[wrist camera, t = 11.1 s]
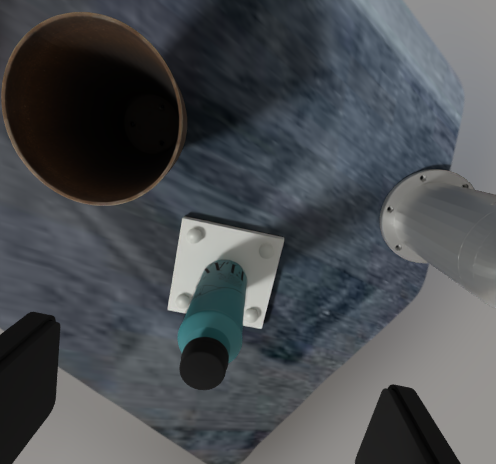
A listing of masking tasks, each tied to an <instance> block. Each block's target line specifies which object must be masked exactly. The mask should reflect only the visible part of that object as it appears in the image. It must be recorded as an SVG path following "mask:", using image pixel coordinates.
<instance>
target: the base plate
mask: <svg viewBox="0 0 496 464" xmlns="http://www.w3.org/2000/svg"><path fill="white" fill-rule="evenodd" d="M283 243H284V237H280V236H275V235H271V234H266V233H261V232H257V231H252V230H247V229H242V228H238V227H233V226H228V225H224V224H219V223H214V222H210V221H205V220H200V219H196V218H191V217H186V216H184V217H183V218H182V224H181V230H180V237H179V243H178V249H177V255H176V261H175V267H174V273H173V280H172V286H171V292H170V298H169V304H168V310H171V311H176V312H181V313H186V309H187V310H188V307H189V305H190V304H189V302H190V301H191V299H192V298H191V297H193V293H195V289H196V288H195V287H196V285H197V283H199V281H200V279H199V278H201V277H200V276H202V273H203V271H204V270H205V268H206V267H207V266H208V265H209V263H210V264H211V263H212V262H214V261H217V260H221V259H227V260H231V261H234V262H236V263H238V264H239V265H240V266H241V267H242V269H243V270H245V271H244V272H245V274H246V277H248V278H247V280H248V282H247V284H248V286H247V287H248V288H246V294H247V295H246V297H247V298H246V299H245V307H244V316H243V325H244V326H249V327H254V328H259V329H262V326H263V322H264V318H265V314H266V310H267V306H268V302H269V298H270V294H271V290H272V286H273V282H274V279H275V275H276V271H277V267H278V263H279V259H280V255H281V251H282V247H283ZM198 280H199V281H198ZM190 303H191V302H190ZM188 304H189V305H188Z"/></svg>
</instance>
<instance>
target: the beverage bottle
mask: <svg viewBox="0 0 496 464" xmlns="http://www.w3.org/2000/svg"><path fill="white" fill-rule="evenodd" d="M244 271H245V270H243V269H242V267H241V266H240V265H239V264H238V263H236V262H234V261H231V260H227V259H221V260H217V261H214V262H212V263H211V264H210V263H209V265H208V266H207V267H206V268H205V270H204V271H203V273H202V276H200V277H201V278H199V279H200V281H199V280H198V281H199V283H197V285H196V287H195V288H196V289H195V293H193V297H191V298H192V299H191V301H190V302H191V303H190V302H189V304H190V305H189V304H188V305H189V307H188V310H187V309H186V314H185V313H184V314H185V317H183V319H184V321H183V323H182V324H181V326H180V329H179V331H178V344H179V348H180V350H181V352H182V356H181V362H180V375H181V377H182V379H183V380H184V382H185V383H186V384H187V385H189V386H190V387H192V388H195V389H198V390H209V389H212V388H215V387H216V386H218V385H219V384H220V383H221V382H222V380H223V379H224V377H225V373H226V370H227V367H228V363H230V362H231V361H233V360H234V359H235V358H236V356H237V355H238V354H239V352H240V350H241V346H242V329H243V316H244V307H245V299H246V298H247V297H246V295H247V294H246V288H248V287H247V286H248V284H247V282H248V280H247V278H248V277H246V274H245V272H244Z"/></svg>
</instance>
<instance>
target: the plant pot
mask: <svg viewBox="0 0 496 464" xmlns="http://www.w3.org/2000/svg"><path fill="white" fill-rule="evenodd" d="M1 99H2V112H3V118H4V122H5V126H6V129H7V132H8V135H9V137H10V140H11V142H12V145H13V146H14V148H15V150H16V152H17V154H18V155H19V157H20V158H21V160H22V161H23V162H24V164H25V165H26V166H27V168H28V169H29V170H30V171H31V172H32V173H33V174H34V175H35V176H36V177H37V178H38V179H39V180H40V181H41V182H42V183H43V184H45V185H46V186H48V187H49V188H50V189H52V190H53V191H55V192H57V193H59V194H60V195H62V196H64V197H66V198H69V199H71V200H74V201H77V202H80V203H84V204H89V205H98V206H109V205H117V204H122V203H126V202H129V201H132V200H134V199H136V198H138V197H140V196H142V195H144V194H145V193H147V192H148V191H150V190H151V189H152V188H154V187H155V186H156V185H157V184H158V183H159V182H160V181H161V180H162V179H163V178H164V176H165V175H166V174H167V173H168V172H169V171H170V169H171V168H172V167H173V165H174V164H175V162H176V161H177V159H178V157H179V156H180V153H181V151H182V149H183V146H184V143H185V139H186V134H187V113H186V108H185V104H184V100H183V97H182V94H181V91H180V89H179V87H178V85H177V83H176V81H175V79H174V77H173V75H172V73H171V71H170V69H169V67H168V66H167V64H166V62H165V61H164V59H163V58H162V56H161V55H160V54H159V52H158V51H157V50H156V49H155V48H154V46H153V45H152V44H151V43H150V42H149V41H148V40H147V39H146V38H145V37H143V36H142V35H141V34H140V33H138V32H137V31H136V30H134V29H133V28H131V27H130V26H128V25H126V24H125V23H123V22H121V21H119V20H116V19H114V18H111V17H108V16H105V15H101V14H96V13H90V12H72V13H66V14H61V15H57V16H54V17H52V18H49V19H47V20H45V21H43V22H41V23H40V24H38V25H37V26H35V27H34V28H33V29H31V30H30V31H29V32H28V33H27V34H26V35H25V36H24V37H23V38H22V39H21V40H20V42H19V43H18V44H17V46H16V47H15V49H14V50H13V52H12V54H11V56H10V58H9V61H8V63H7V66H6V69H5V73H4V77H3V82H2V93H1ZM161 106H164V109H162V108H160V107H161ZM132 122H134V126H132V125H131V123H132ZM161 141H163V142H164V145H161V144H160V142H161Z"/></svg>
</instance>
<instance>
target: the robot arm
mask: <svg viewBox="0 0 496 464" xmlns="http://www.w3.org/2000/svg"><path fill="white" fill-rule="evenodd" d="M421 176H422V178H421V179H420V177H421ZM388 207H390V208H389V210H387V208H388ZM380 229H381V233H382V236H383V238H384V240H385V242H386V244H387V245H388V246H389V248H390V249H391V250H392V251H394V252H395V253H396V254H397V255H399V256H400V257H402V258H404V259H406V260H409V261H412V262H417V263H430V264H431V265H433V266H434V267H435V268H437V269H438V270H439V271H441V272H442V273H444V274H445V275H447V276H448V277H449V278H450V279H452V280H453V281H455V282H456V283H458V284H459V285H460V286H461V287H463V288H464V289H466V290H467V291H468V292H470V293H471V294H473V295H474V296H476V297H477V298H479V299H480V300H481V301H483V302H484V303H486V304H488V305H489V306H491V307H493V308H495V309H496V195H494V194H490V193H485V192H481V191H476V190H474V188H473V186H472V185H471V184H470V183H469V182H468V181H467V180H466V179H465V178H463V177H462V176H460V175H458V174H456V173H453V172H451V171H447V170H441V169H429V170H423V171H419V172H417V173H414V174H411V175H410V176H408V177H406V178H404V179H403V180H402V181H400V182H399V183H398V184H397V185H396V186H395V187H394V188H393V189H392V190H391V191H390V192H389V194H388V196H387V197H386V199H385V201H384V203H383V206H382V209H381V214H380ZM397 245H398V246H397ZM396 246H397V247H396ZM59 340H60V324H59V323H58V322H56V321H55V317H54V316H52V315H47V314H42V313H37V312H30V313H28V314H27V315H26V316H24V317H23V318H22V319H20V320H19V321H18V322H16V323H15V324H14V325H12V326H11V327H10V328H8V329H7V330H6V331H4V332H3V333H2V334H1V335H0V464H12V463H13V462H14V461H15V459H16V458H17V457H18V455H19V454H20V453H21V451H22V450H23V449H24V447H25V446H26V445H27V443H28V442H29V440H30V439H31V438H32V437H33V435H34V434H35V433H36V432H37V430H38V429H39V428H40V426H41V425H42V424H43V422H44V421H45V420H46V418H47V417H48V416H49V414H50V413H51V411H52V409H53V407H54V404H55V400H56V386H57V371H58V355H59ZM355 464H460V462H459V460H458V459H457V457H456V456H455V454H454V452H453V451H452V449H451V447H450V446H449V444H448V443H447V441H446V440H445V438H444V436H443V435H442V433H441V431H440V430H439V428H438V427H437V425H436V424H435V422H434V420H433V419H432V417H431V415H430V414H429V412H428V411H427V409H426V407H425V406H424V404H423V403H422V401H421V400H420V398H419V396H418V395H417V393H416V392H415V390H414V389H412V388H408V387H403V386H398V385H390V386H389V387H388V389H383V390H382V392H381V395H380V397H379V400H378V402H377V405H376V408H375V410H374V413H373V415H372V418H371V421H370V423H369V425H368V428H367V431H366V433H365V436H364V438H363V441H362V443H361V446H360V449H359V451H358V454H357V457H356V460H355Z"/></svg>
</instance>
